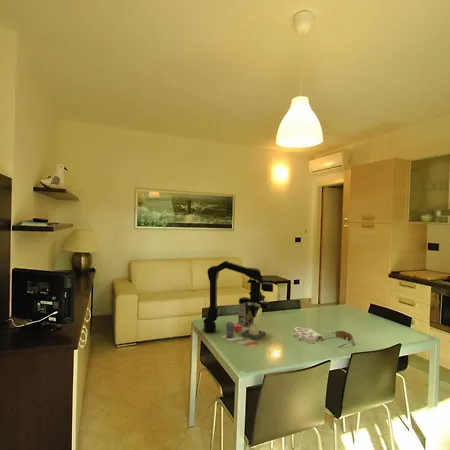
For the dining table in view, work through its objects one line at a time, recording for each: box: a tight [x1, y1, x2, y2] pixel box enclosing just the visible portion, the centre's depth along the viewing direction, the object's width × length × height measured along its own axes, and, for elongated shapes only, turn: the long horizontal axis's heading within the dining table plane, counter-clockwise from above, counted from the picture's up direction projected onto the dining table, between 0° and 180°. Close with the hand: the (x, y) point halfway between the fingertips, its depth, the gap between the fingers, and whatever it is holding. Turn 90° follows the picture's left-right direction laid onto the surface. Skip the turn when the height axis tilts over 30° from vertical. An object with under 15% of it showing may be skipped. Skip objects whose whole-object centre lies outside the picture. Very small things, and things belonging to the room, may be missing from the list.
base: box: [241, 328, 266, 341], centre depth 179 cm, size 10×10×3 cm
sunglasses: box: [322, 330, 355, 348], centre depth 176 cm, size 14×15×5 cm
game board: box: [220, 334, 261, 348], centre depth 171 cm, size 22×10×1 cm, turn 54°
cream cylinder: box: [248, 324, 260, 335], centre depth 179 cm, size 6×6×6 cm
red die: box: [234, 323, 243, 333], centre depth 187 cm, size 4×4×4 cm
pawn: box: [225, 321, 235, 338], centre depth 175 cm, size 5×5×9 cm
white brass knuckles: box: [293, 326, 324, 345], centre depth 182 cm, size 3×18×15 cm
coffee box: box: [237, 302, 255, 329], centre depth 198 cm, size 9×6×16 cm
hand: (254, 317), depth 179 cm, fingers closed
